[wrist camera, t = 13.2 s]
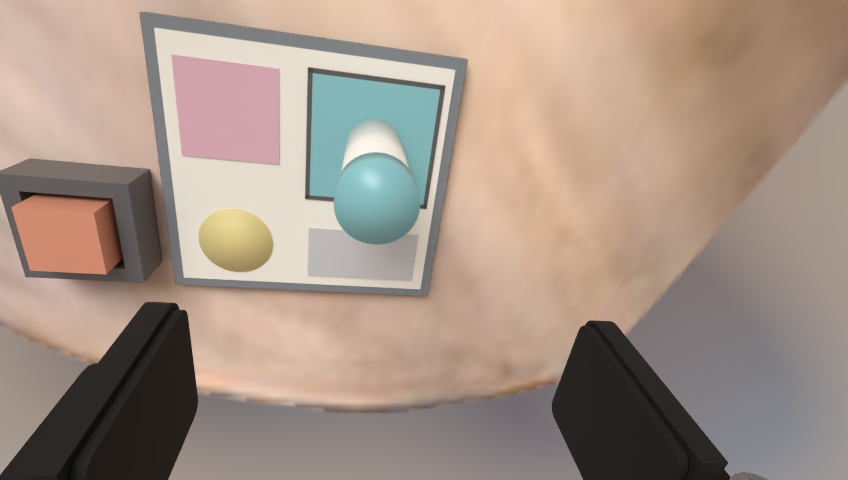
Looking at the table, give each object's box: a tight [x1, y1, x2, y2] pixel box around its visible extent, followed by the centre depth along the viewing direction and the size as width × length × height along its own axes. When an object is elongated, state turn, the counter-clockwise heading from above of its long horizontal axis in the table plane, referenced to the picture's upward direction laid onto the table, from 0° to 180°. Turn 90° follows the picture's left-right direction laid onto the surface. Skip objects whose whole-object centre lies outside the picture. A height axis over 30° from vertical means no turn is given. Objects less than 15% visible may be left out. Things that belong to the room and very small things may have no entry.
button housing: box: [0, 159, 162, 283], centre depth 28 cm, size 7×7×3 cm
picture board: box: [140, 12, 468, 296], centre depth 30 cm, size 19×18×1 cm
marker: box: [334, 118, 420, 245], centre depth 24 cm, size 4×4×11 cm
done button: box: [11, 193, 123, 274], centre depth 27 cm, size 4×4×2 cm
